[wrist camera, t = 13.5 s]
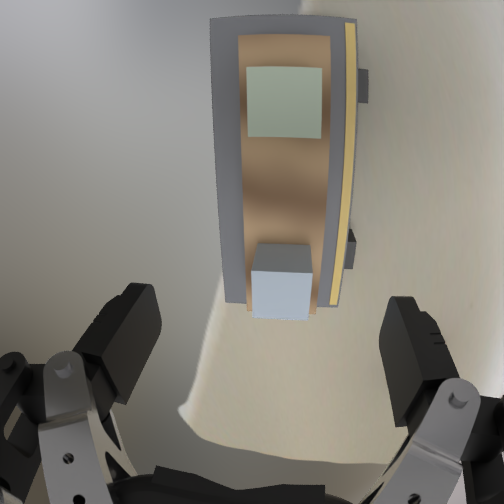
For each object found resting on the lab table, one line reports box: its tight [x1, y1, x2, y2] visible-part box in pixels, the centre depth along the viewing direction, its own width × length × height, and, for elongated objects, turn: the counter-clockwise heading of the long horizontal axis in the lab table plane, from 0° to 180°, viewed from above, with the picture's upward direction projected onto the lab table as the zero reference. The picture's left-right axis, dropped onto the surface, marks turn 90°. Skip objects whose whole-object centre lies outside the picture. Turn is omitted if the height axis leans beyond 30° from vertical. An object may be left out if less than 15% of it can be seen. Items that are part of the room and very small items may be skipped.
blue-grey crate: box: [251, 243, 313, 320], centre depth 23 cm, size 4×4×4 cm
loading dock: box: [210, 15, 368, 307], centre depth 28 cm, size 28×13×4 cm, turn 2°
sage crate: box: [246, 66, 322, 139], centre depth 17 cm, size 4×4×4 cm
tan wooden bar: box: [238, 34, 331, 314], centre depth 24 cm, size 22×6×5 cm, turn 2°
